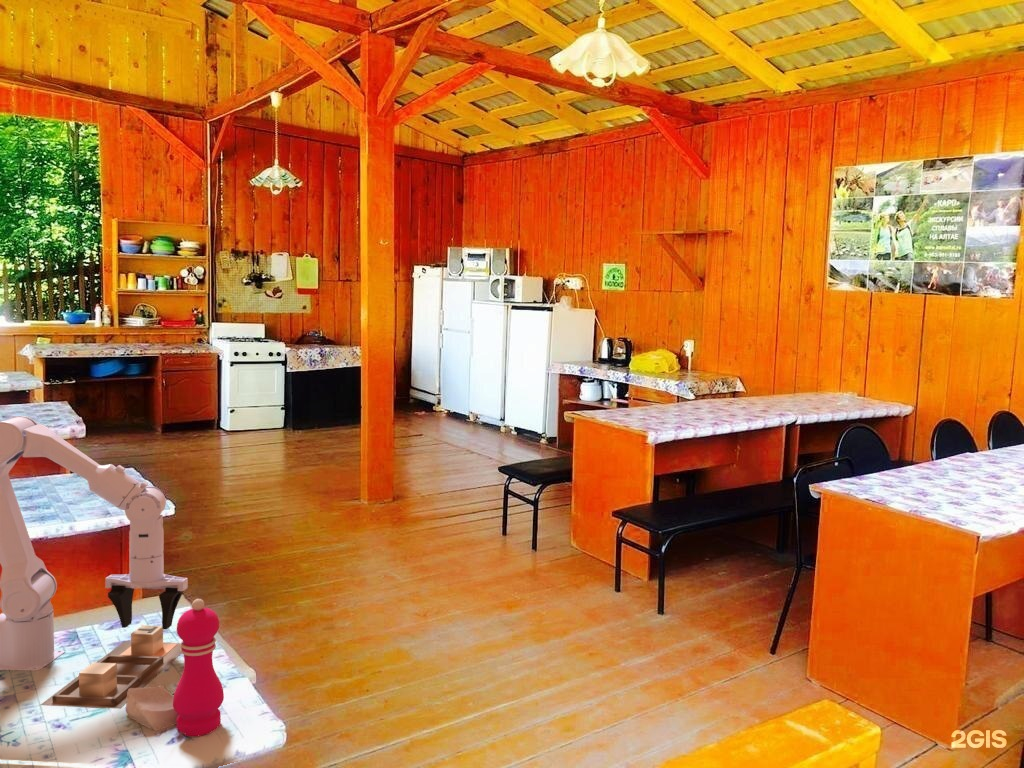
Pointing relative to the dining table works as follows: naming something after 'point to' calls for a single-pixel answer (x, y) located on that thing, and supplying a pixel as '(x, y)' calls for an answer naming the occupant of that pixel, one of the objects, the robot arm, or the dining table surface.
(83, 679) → the blank cube
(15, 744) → the dining table surface
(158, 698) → the tan faceted block
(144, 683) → the organiser
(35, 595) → the robot arm
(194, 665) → the pepper mill
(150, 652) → the letter cube
